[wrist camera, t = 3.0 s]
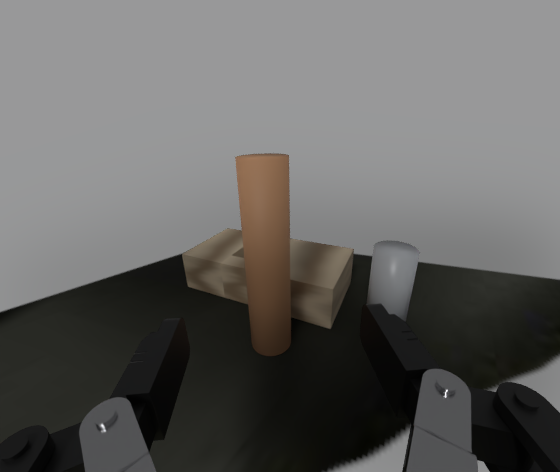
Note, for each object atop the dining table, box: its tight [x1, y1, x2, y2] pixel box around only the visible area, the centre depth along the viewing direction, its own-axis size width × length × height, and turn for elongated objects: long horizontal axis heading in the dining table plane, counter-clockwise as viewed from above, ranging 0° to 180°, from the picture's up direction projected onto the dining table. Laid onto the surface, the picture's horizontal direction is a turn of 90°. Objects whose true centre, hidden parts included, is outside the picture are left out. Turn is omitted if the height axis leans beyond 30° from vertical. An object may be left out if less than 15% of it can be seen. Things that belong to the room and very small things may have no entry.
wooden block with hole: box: [182, 228, 354, 329], centre depth 35 cm, size 20×10×5 cm, turn 64°
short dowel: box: [367, 241, 420, 322], centre depth 27 cm, size 4×4×9 cm
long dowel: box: [235, 154, 291, 356], centre depth 23 cm, size 4×4×18 cm
